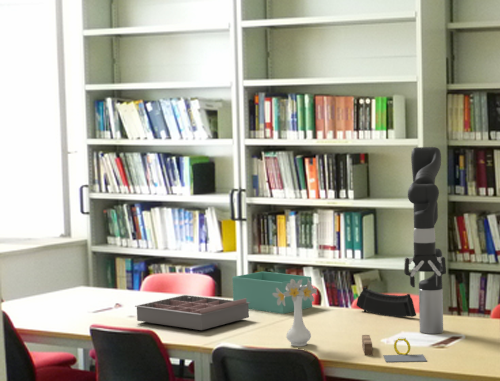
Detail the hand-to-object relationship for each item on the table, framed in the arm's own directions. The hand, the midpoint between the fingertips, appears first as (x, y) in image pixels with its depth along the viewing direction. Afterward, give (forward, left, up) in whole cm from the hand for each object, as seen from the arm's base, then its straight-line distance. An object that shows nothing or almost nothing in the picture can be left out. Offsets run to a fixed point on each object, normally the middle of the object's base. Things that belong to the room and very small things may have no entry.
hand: (425, 286), depth 305 cm
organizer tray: (-70, -91, -25) cm, 118 cm away
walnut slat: (-10, -20, -25) cm, 34 cm away
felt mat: (+3, -8, -25) cm, 26 cm away
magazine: (-77, -7, -25) cm, 81 cm away
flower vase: (-21, -45, -25) cm, 56 cm away
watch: (-4, -8, -25) cm, 27 cm away
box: (-102, -57, -25) cm, 120 cm away
